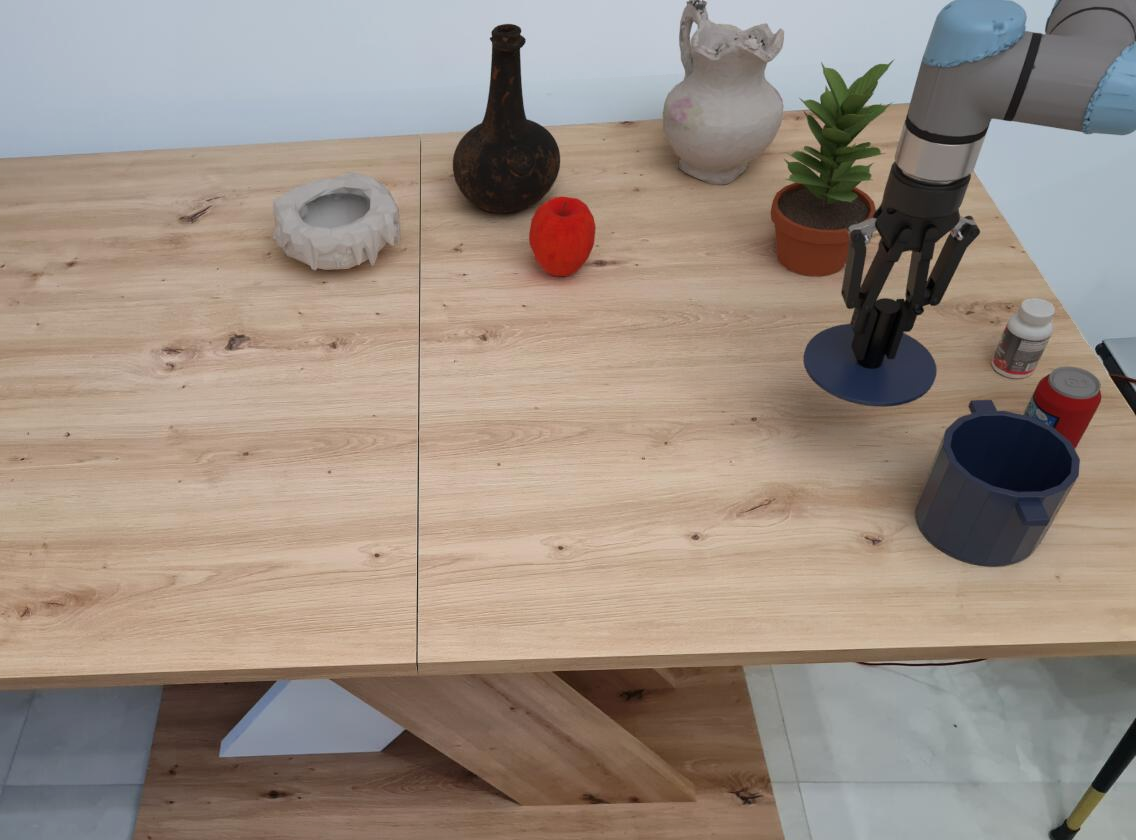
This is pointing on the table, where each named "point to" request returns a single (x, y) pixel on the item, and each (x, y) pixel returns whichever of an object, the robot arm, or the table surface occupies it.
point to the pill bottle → (1024, 339)
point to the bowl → (336, 221)
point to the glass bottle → (506, 140)
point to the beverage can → (1066, 401)
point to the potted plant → (828, 179)
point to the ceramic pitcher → (722, 97)
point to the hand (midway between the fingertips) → (872, 351)
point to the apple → (562, 235)
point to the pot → (995, 486)
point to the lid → (870, 363)
